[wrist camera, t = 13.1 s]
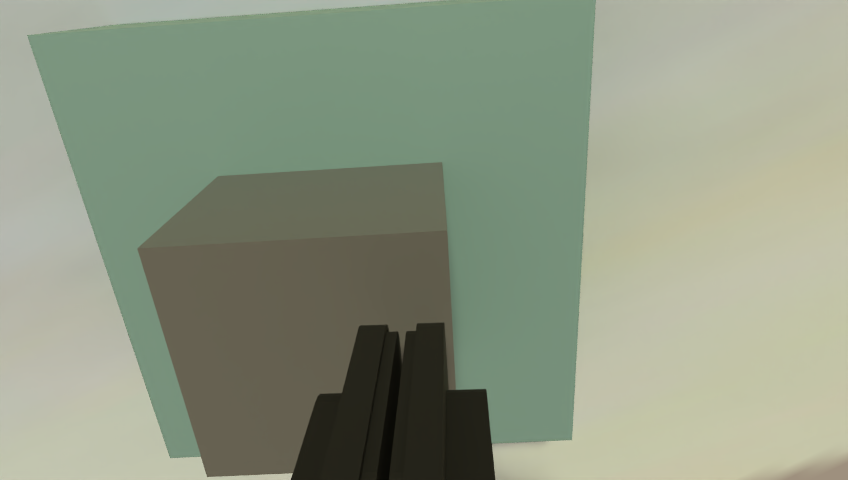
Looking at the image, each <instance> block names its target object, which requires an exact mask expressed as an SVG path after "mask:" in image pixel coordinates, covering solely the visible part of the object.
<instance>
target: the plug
mask: <svg viewBox="0 0 848 480" xmlns="http://www.w3.org/2000/svg"><path fill="white" fill-rule="evenodd" d="M137 250H138V253H139V256H140V259H141V263H142V266H143V269H144V272H145V276H146V279H147V282H148V285H149V289H150V292H151V295H152V298H153V302H154V305H155V308H156V311H157V315H158V318H159V321H160V324H161V328H162V331H163V334H164V338H165V341H166V344H167V347H168V351H169V354H170V357H171V360H172V364H173V367H174V370H175V373H176V377H177V380H178V383H179V386H180V390H181V393H182V396H183V399H184V403H185V406H186V409H187V412H188V416H189V419H190V422H191V426H192V429H193V432H194V435H195V439H196V442H197V445H198V448H199V452H200V455H201V458H202V461H203V465H204V468H205V471H206V474H207V477H214V476H237V475H260V474H284V473H293V471H294V468H295V465H296V462H297V459H298V455H299V452H300V449H301V446H302V443H303V439H304V436H305V433H306V430H307V427H308V423H309V420H310V417H311V414H312V411H313V407H314V404H315V401H316V399H317V397H318V395H319V394H327V393H342V391H343V387H344V383H345V379H346V375H347V371H348V367H349V363H350V359H351V355H352V351H353V347H354V343H355V340H356V336H357V332H358V328H359V326H360V325H386V324H387V325H388V328H389V332H396V331H398V333H399V338H400V348H401V358H402V362H403V354H404V345H405V336H406V331H416V326H417V323H441V322H444V324H445V338H446V354H447V370H448V386H449V390H456V382H455V363H454V345H453V326H452V308H451V289H450V271H449V252H448V234H447V219H446V206H445V193H444V179H443V166H442V162H436V163H420V164H404V165H388V166H372V167H356V168H340V169H324V170H307V171H291V172H275V173H259V174H243V175H227V176H218V177H216V178H215V179H214V180H213V181H212V182H211V183H210V184H209V185H207V186H206V187H205V188H204V189H203V190H202V191H201V192H200V193H199V194H197V195H196V196H195V197H194V198H193V199H192V200H191V201H190V202H188V203H187V204H186V205H185V206H184V207H183V208H182V209H181V210H180V211H178V212H177V213H176V214H175V215H174V216H173V217H172V218H171V219H170V220H168V221H167V222H166V223H165V224H164V225H163V226H162V227H161V228H159V229H158V230H157V231H156V232H155V233H154V234H153V235H152V236H151V237H149V238H148V239H147V240H146V241H145V242H144V243H143V244H142V245H140V246H139V247H138V248H137Z"/></svg>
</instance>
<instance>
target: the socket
mask: <svg viewBox="0 0 848 480" xmlns="http://www.w3.org/2000/svg"><path fill="white" fill-rule="evenodd" d="M595 3H596V0H449V1H435V2H421V3H408V4H394V5H380V6H367V7H353V8H339V9H326V10H312V11H298V12H285V13H271V14H257V15H244V16H230V17H216V18H202V19H189V20H175V21H161V22H148V23H134V24H120V25H110V26H101V27H93V28H85V29H76V30H68V31H60V32H51V33H43V34H35V35H27V36H28V39H29V42H30V45H31V48H32V51H33V54H34V57H35V60H36V63H37V66H38V69H39V72H40V75H41V77H42V80H43V83H44V86H45V89H46V92H47V95H48V98H49V101H50V104H51V107H52V110H53V113H54V116H55V119H56V122H57V125H58V128H59V131H60V134H61V137H62V140H63V143H64V145H65V148H66V151H67V154H68V157H69V160H70V163H71V166H72V169H73V172H74V175H75V178H76V181H77V184H78V187H79V190H80V193H81V196H82V199H83V202H84V205H85V208H86V210H87V213H88V216H89V219H90V222H91V225H92V228H93V231H94V234H95V237H96V240H97V243H98V246H99V249H100V252H101V255H102V258H103V261H104V264H105V267H106V270H107V273H108V276H109V278H110V281H111V284H112V287H113V290H114V293H115V296H116V299H117V302H118V305H119V308H120V311H121V314H122V317H123V320H124V323H125V326H126V329H127V332H128V335H129V338H130V341H131V344H132V346H133V349H134V352H135V355H136V358H137V361H138V364H139V367H140V370H141V373H142V376H143V379H144V382H145V385H146V388H147V391H148V394H149V397H150V400H151V403H152V406H153V409H154V412H155V414H156V417H157V420H158V423H159V426H160V429H161V432H162V435H163V438H164V441H165V444H166V447H167V450H168V453H169V456H170V458H181V457H201V455H200V452H199V448H198V445H197V442H196V439H195V435H194V432H193V429H192V426H191V422H190V419H189V416H188V412H187V409H186V406H185V403H184V399H183V396H182V393H181V390H180V386H179V383H178V380H177V377H176V373H175V370H174V367H173V364H172V360H171V357H170V354H169V351H168V347H167V344H166V341H165V338H164V334H163V331H162V328H161V324H160V321H159V318H158V315H157V311H156V308H155V305H154V302H153V298H152V295H151V292H150V289H149V285H148V282H147V279H146V276H145V272H144V269H143V266H142V263H141V259H140V256H139V253H138V250H137V248H138V247H139V246H140V245H142V244H143V243H144V242H145V241H146V240H147V239H148V238H149V237H151V236H152V235H153V234H154V233H155V232H156V231H157V230H158V229H159V228H161V227H162V226H163V225H164V224H165V223H166V222H167V221H168V220H170V219H171V218H172V217H173V216H174V215H175V214H176V213H177V212H178V211H180V210H181V209H182V208H183V207H184V206H185V205H186V204H187V203H188V202H190V201H191V200H192V199H193V198H194V197H195V196H196V195H197V194H199V193H200V192H201V191H202V190H203V189H204V188H205V187H206V186H207V185H209V184H210V183H211V182H212V181H213V180H214V179H215V178H216V177H218V176H227V175H243V174H259V173H275V172H291V171H307V170H324V169H340V168H356V167H372V166H388V165H404V164H420V163H436V162H442V166H443V179H444V193H445V206H446V219H447V234H448V252H449V271H450V289H451V308H452V326H453V345H454V363H455V382H456V390H466V389H486V391H487V399H488V410H489V420H490V431H491V441H492V443H514V442H537V441H559V440H572V428H573V410H574V391H575V373H576V354H577V336H578V317H579V299H580V280H581V262H582V243H583V225H584V206H585V188H586V169H587V151H588V132H589V114H590V95H591V77H592V58H593V40H594V21H595Z"/></svg>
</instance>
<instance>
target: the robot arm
mask: <svg viewBox="0 0 848 480" xmlns="http://www.w3.org/2000/svg"><path fill="white" fill-rule="evenodd" d="M291 480H495V472H494V462H493V452H492V441H491V431H490V420H489V410H488V399H487V391H486V389H466V390H449V386H448V370H447V354H446V338H445V324H444V322H441V323H417V326H416V331H406V336H405V345H404V354H403V362H402V358H401V348H400V338H399V333H398V331H396V332H389V328H388V325H387V324H386V325H360V326H359V328H358V332H357V336H356V340H355V343H354V347H353V351H352V355H351V359H350V363H349V367H348V371H347V375H346V379H345V383H344V387H343V391H342V393H327V394H319V395H318V397H317V399H316V401H315V404H314V407H313V411H312V414H311V417H310V420H309V423H308V427H307V430H306V433H305V436H304V439H303V443H302V446H301V449H300V452H299V455H298V459H297V462H296V465H295V468H294V471H293V475H292V478H291Z"/></svg>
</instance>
